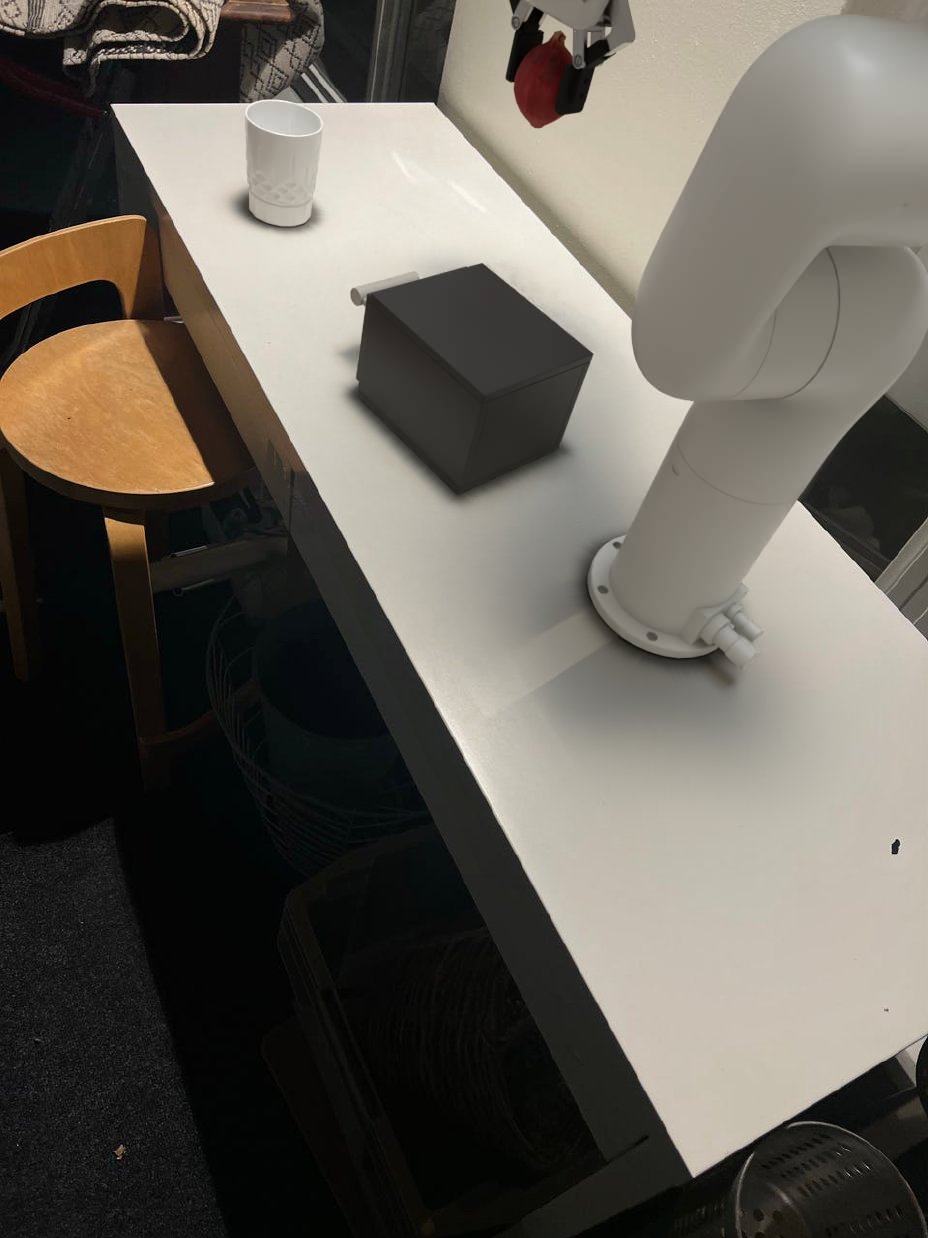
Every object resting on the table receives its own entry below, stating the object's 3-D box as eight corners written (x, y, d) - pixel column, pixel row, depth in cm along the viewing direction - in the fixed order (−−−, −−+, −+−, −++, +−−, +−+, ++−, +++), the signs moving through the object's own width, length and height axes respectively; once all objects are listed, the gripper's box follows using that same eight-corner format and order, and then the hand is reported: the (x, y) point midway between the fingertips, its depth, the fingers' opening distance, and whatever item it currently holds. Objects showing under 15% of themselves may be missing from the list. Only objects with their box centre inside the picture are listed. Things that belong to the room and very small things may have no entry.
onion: (561, 148, 82) (587, 52, 76) (500, 130, 82) (521, 31, 76) (569, 125, 86) (595, 31, 80) (511, 107, 86) (532, 12, 80)
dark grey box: (356, 395, 83) (370, 292, 75) (459, 359, 89) (482, 262, 81) (457, 494, 77) (484, 395, 69) (558, 448, 84) (594, 353, 76)
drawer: (325, 349, 85) (333, 263, 78) (418, 320, 91) (434, 238, 84) (448, 468, 78) (468, 385, 71) (540, 428, 84) (567, 348, 77)
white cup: (328, 225, 100) (337, 132, 92) (263, 234, 96) (266, 138, 89) (295, 189, 103) (301, 96, 96) (231, 196, 100) (231, 101, 92)
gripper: (495, -197, 70) (452, 58, 83) (655, -120, 63) (579, 145, 77) (562, -190, 74) (510, 53, 87) (719, -117, 67) (637, 134, 81)
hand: (543, 93), depth 82 cm, fingers closed on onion, 5 cm apart
